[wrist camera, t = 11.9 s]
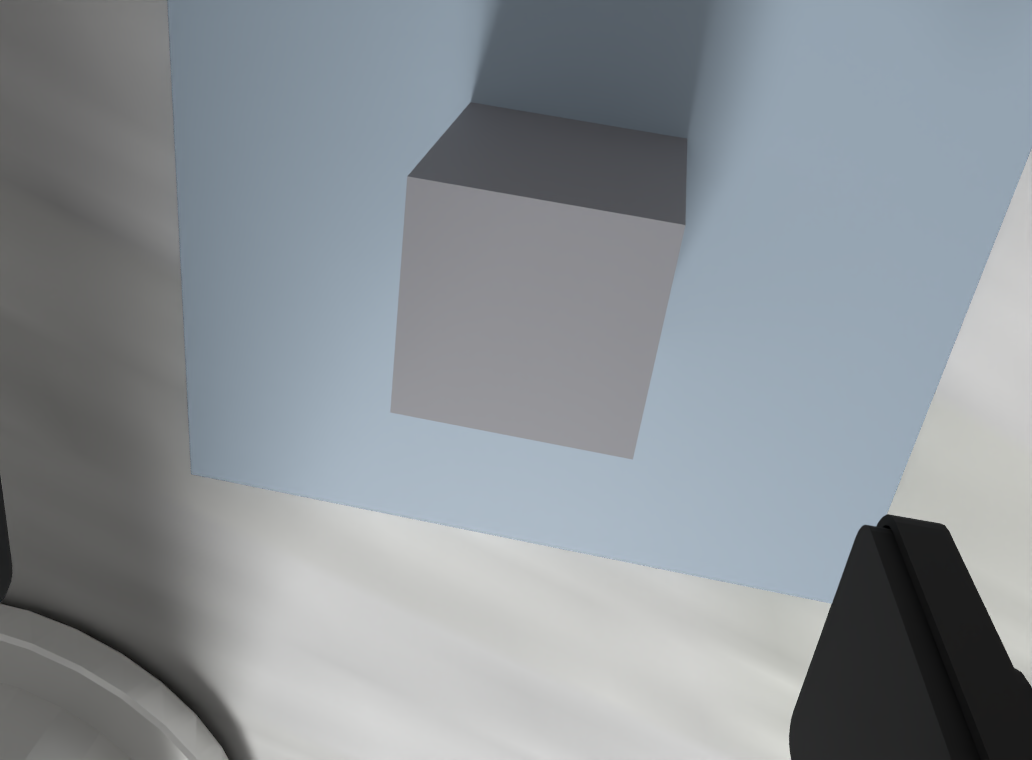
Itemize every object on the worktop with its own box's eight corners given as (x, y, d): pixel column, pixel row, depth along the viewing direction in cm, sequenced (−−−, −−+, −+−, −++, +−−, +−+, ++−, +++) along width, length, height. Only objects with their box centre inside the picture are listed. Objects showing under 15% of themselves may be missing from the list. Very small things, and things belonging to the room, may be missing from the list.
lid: (843, 574, 20) (883, 775, 16) (211, 448, 21) (88, 604, 17) (1133, -182, 13) (1342, -192, 9) (184, -314, 14) (-35, -379, 10)
